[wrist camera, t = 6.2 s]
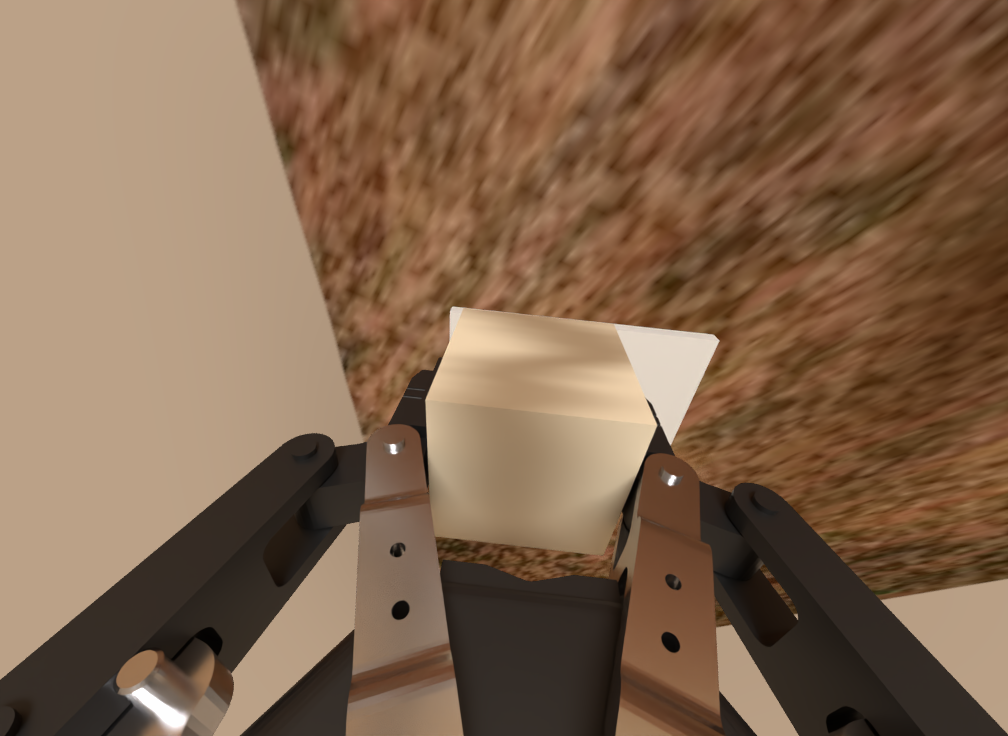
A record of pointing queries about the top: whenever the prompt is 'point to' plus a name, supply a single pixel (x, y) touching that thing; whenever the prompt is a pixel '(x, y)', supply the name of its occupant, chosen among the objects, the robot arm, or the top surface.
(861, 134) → the top surface
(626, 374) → the maple cube
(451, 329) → the plate
